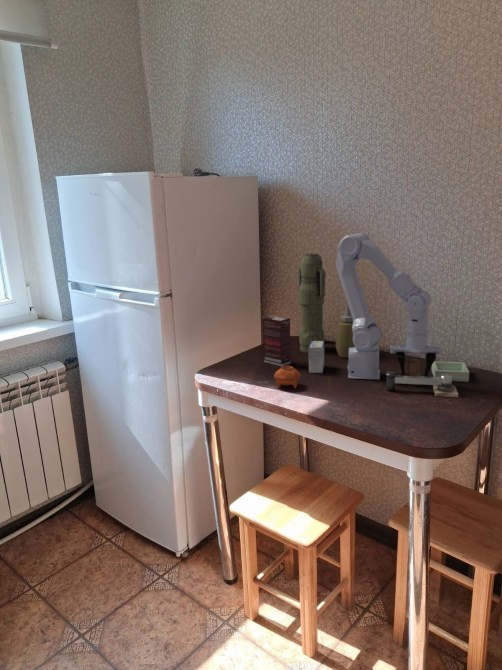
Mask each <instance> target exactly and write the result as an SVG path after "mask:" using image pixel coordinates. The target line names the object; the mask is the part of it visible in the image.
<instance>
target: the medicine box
mask: <svg viewBox="0 0 502 670" xmlns="http://www.w3.org/2000/svg"><path fill="white" fill-rule="evenodd" d="M324 368H325V340H324V341H311V344H310V347H309V353H308V372H309V373H311V374H323V373H324Z"/></svg>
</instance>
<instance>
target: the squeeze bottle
mask: <svg viewBox="0 0 502 670" xmlns="http://www.w3.org/2000/svg"><path fill="white" fill-rule="evenodd" d="M352 326H353V318H352V315H351V312H350V309H349V305H348V304H347V305H345V309H344V313H343V315H341V316H340V321H339V322H338V323H337V331H336V339H335V348H336V352H337V355H338V356H339V357H340V358H344V359H345V358H346V359H349V348H354V347H355V345H354V343H353V331H352Z"/></svg>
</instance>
